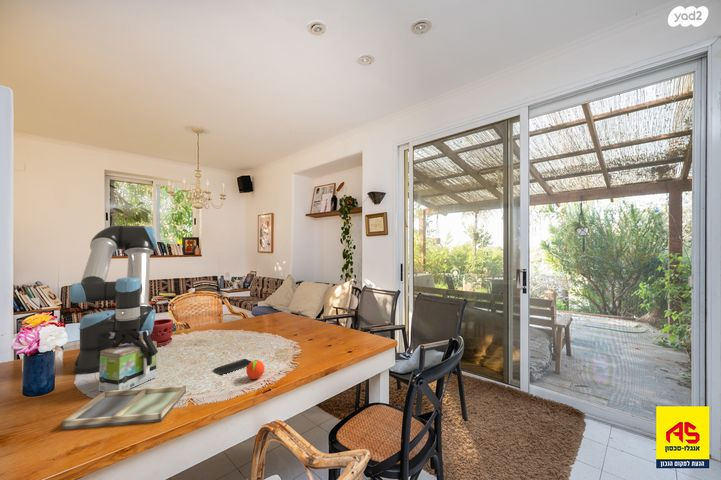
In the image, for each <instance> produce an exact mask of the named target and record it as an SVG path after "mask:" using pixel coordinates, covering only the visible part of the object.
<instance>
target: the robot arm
mask: <svg viewBox="0 0 721 480" xmlns="http://www.w3.org/2000/svg"><path fill="white" fill-rule="evenodd" d="M89 247H90V254H89V257H88V259H87V262H86V266H85V269H84V272H83V274H82V278H81V280H80V282H76V283H72V284H71V285H70V288H69V300H70V302H71V303H74V304H83V303H84V304H87V303H94V302H95V303H96V302H107V301H109V302H110V301H115V310H113V309H110V310H109V309H108V310H102V311H97V312H93V313H89V314H86V315H84V316H83V317H81V319H80V322H79V328H78V329H79V352H78V355H77V357H76V360H75V363H74V365H73V372H74V373H76V374H90V373H91V374H92V373H98V372H99V370H100V351H102V350H105V349H109V348H115V347H117V346H119V345H122V344H126V343H127V344H131V343H133V344H134V345H136V346H137V347H140V351H141V352H142V353H143V354H144V355H145V356H146V357H145V358H144V376H145V375H147V374H148V373H150V365H151V364H152V356H154V355H155V354H156V355H157V354H158V349H156V347H155V345H154V343H153V341H152V339H151V337H150V334H151V333H152V331H153V327H154V321H155V320H156V309H153V306H152V305H151V304H150V303H149V297H150V295H149V293H150V292H149V291H150V289H149V288H150V261H151V260H150V256H151V255H153V253H154V250H158V249H157V248H158V246H157V239H156V233H155V228H154V227H153V226H148V225H111V226H108V227H106V228H104V229H102V230H100V231H99V232H97V233H96V234H95V235H94V236H93V237H92V239H91V240H90V244H89ZM117 250H124V254H126V255H127V277H121V278H117V279H116V280H115V281H107V277H108V273H109V269H110V266H111V262H112V258H113V254H114V253H115V252H116V251H117ZM141 338H142V339H141ZM136 340H137V341H136ZM142 340H144V341H145V343H146V345H147V347H148V348H147V347H145V346H144V345H145V344H144V343H143V342H142Z"/></svg>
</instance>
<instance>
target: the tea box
mask: <svg viewBox="0 0 721 480" xmlns="http://www.w3.org/2000/svg"><path fill="white" fill-rule="evenodd" d="M141 340H142V342H143V343H144V344H145V345H144V346H145V347H147V345H146V343H145V341H144V339H141ZM136 341H137V340H136ZM153 343H154V345H155V347H156V349H157V347H158V346H157V342H155V341H153ZM147 348H148V347H147ZM157 350H158V349H157ZM145 357H146V356H145V355H144V354H143V353H142V352H141V351H140V347H137V346H136V345H134V344H133V343H131V344H127V343H126V344H122V343H121V344H120V345H119V346H117V347H115V348H109V349H105V350H102V351H100V370H99V371H98V372H99V376H98V378H99V379H98V391H100V392H104V391H114V390H129V389H134V387H136V386H137V387H138V386H139V385H141V384H144V383H146V382H149V381H151V380H153V379H152V378H154V379H156V377H157V353H156V354H155V355H154V356H152V364H151V365H150V373H148V374H147V375H145V376H144V358H145ZM150 379H151V380H150ZM148 380H149V381H148Z"/></svg>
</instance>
